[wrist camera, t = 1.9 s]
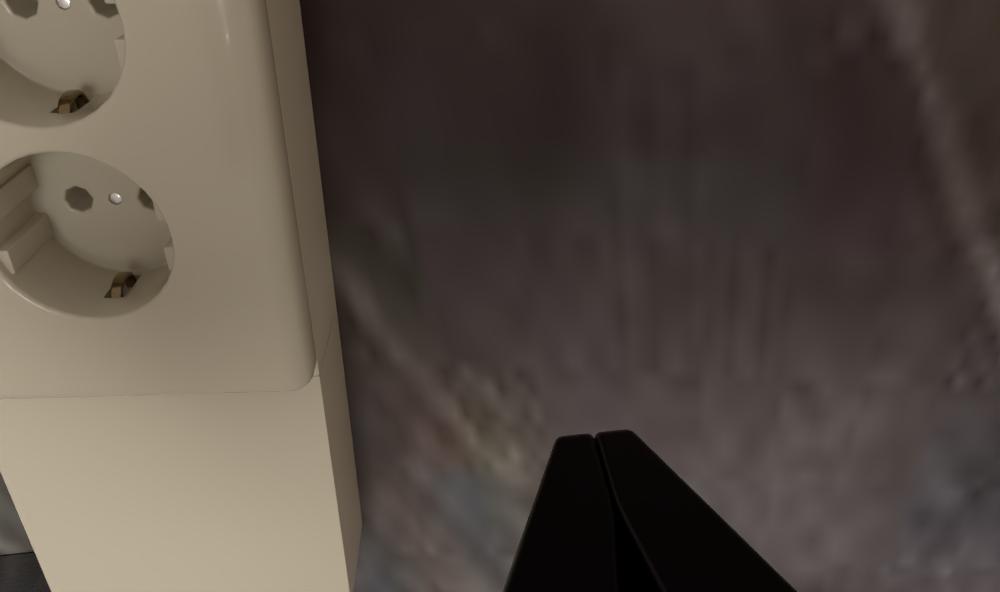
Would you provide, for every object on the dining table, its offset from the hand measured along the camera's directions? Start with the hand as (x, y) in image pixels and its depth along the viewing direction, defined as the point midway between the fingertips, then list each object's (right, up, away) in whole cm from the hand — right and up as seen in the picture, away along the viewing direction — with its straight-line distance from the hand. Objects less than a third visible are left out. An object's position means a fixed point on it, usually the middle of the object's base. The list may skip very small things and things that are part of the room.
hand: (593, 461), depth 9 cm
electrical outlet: (-8, +3, +9) cm, 13 cm away
